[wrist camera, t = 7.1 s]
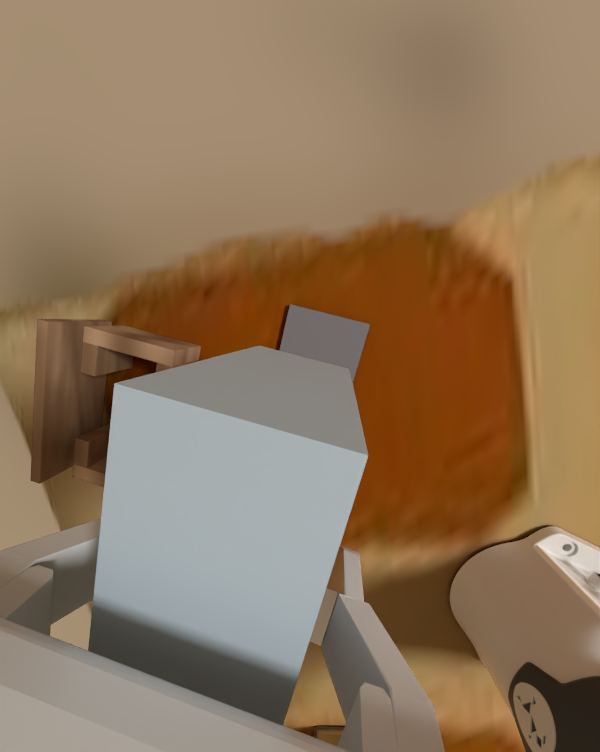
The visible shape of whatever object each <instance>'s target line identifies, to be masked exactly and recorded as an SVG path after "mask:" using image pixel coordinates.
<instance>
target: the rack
mask: <svg viewBox="0 0 600 752" xmlns="http://www.w3.org/2000/svg"><path fill="white" fill-rule="evenodd" d="M111 325H112V322H109V321H106V320H72V319H37V338H36V362H35V387H34V412H33V437H32V461H31V481H34V482H37V483H42V482H43V481H45V480H47V479H49V478H51V477H53V476H55V475H56V474H58V473H60V472H62V471H64V470H66V469H67V468H69V467H71V466H73V477H75V478H78V479H81V480H84V481H87V482H90V483H93V484H97V485H100V486H103V487H104V484H105V474H106V464H107V453H108V443H109V433H110V423H109V424H106V425H104V426H102V417H103V407H104V397H105V387H106V376H107V374H108V373H112V372H117V371H121V370H126V369H130V368H132V366H133V357H134V356H136V357H139V358H143V359H147V360H150V361H154V362H157V366H156V372H160V371H164V370H167V369H171V368H175V367H179V366H183V365H187V364H191V363H194V362H198V361H199V355H200V349H201V346H198V345H195V344H191V343H187V342H184V341H180V340H176V339H172V338H169V337H165V336H161V335H158V334H154V333H150V332H146V331H143V330H139V329H135V328H132V327H128V326H111Z"/></svg>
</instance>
